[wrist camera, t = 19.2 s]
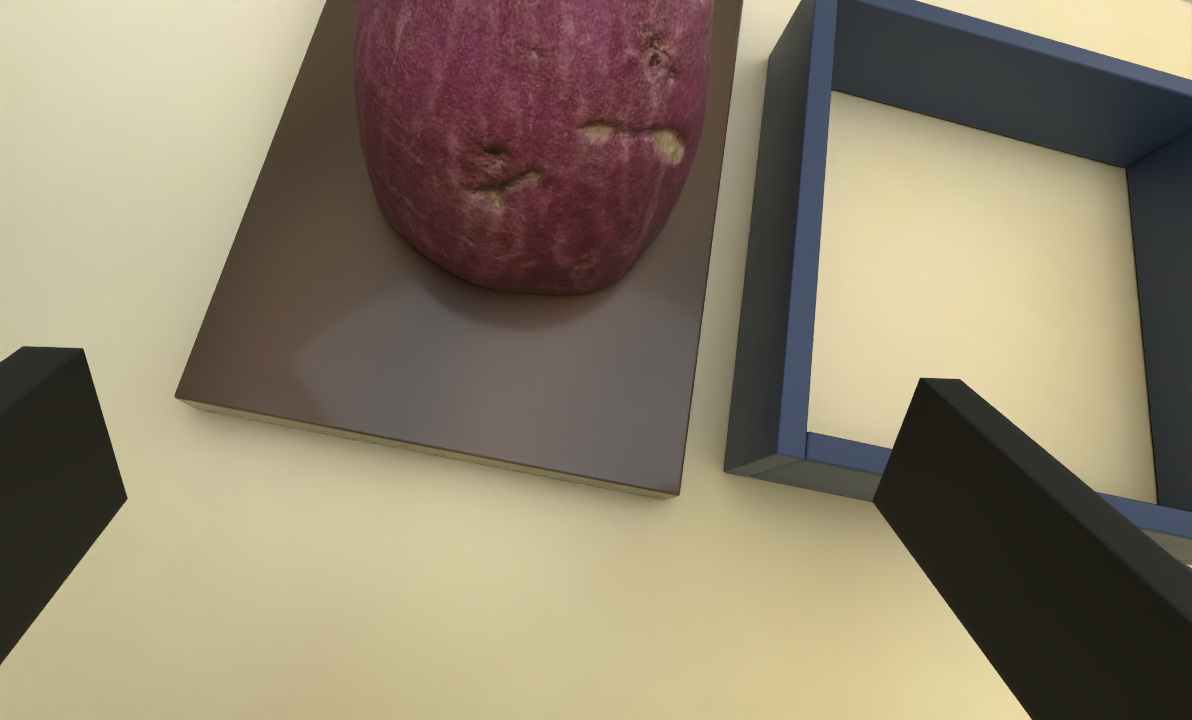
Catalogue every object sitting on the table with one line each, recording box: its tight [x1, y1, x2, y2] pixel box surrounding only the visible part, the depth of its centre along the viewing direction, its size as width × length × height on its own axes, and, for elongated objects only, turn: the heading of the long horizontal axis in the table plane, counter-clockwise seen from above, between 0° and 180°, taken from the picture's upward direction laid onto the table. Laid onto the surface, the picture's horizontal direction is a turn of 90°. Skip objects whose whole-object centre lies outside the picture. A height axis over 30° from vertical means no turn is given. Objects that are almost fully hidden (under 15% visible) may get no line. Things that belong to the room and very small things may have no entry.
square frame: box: [724, 0, 1192, 565], centre depth 22 cm, size 17×17×4 cm
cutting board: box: [175, 0, 743, 500], centre depth 22 cm, size 14×20×2 cm
